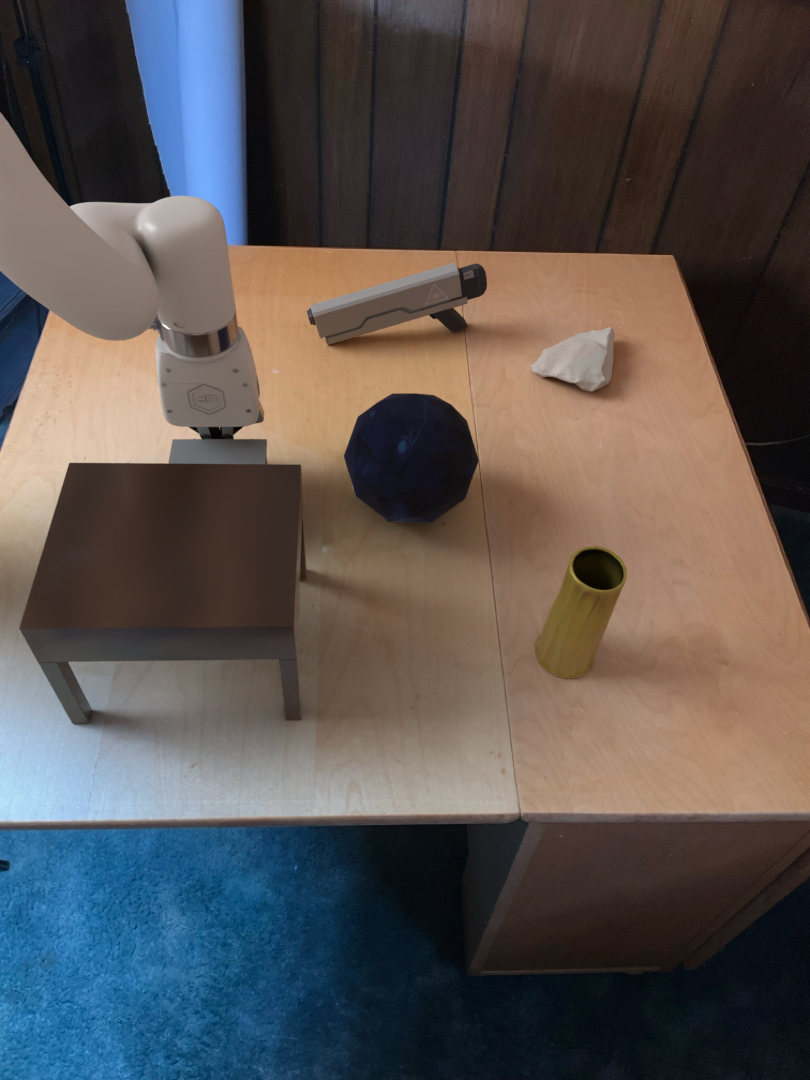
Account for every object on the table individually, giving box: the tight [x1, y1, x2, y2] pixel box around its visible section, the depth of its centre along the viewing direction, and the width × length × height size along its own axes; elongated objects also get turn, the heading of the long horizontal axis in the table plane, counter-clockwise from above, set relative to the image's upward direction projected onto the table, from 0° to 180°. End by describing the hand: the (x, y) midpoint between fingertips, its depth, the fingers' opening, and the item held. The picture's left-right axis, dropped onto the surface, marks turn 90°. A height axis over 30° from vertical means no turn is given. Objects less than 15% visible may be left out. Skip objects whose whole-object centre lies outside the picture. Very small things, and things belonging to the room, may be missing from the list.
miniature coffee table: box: [18, 462, 308, 725], centre depth 75 cm, size 21×20×16 cm
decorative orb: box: [343, 392, 480, 524], centre depth 89 cm, size 14×15×15 cm
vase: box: [534, 545, 628, 679], centre depth 77 cm, size 6×6×14 cm
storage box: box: [168, 438, 268, 464], centre depth 90 cm, size 10×8×6 cm
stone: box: [530, 326, 616, 393], centre depth 112 cm, size 11×4×15 cm
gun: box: [306, 262, 488, 346], centre depth 112 cm, size 2×25×10 cm, turn 104°
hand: (222, 457), depth 95 cm, fingers closed
